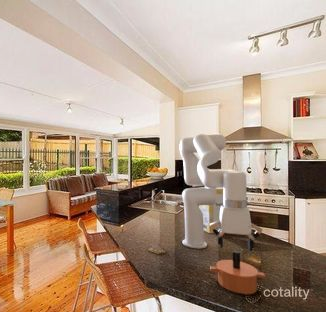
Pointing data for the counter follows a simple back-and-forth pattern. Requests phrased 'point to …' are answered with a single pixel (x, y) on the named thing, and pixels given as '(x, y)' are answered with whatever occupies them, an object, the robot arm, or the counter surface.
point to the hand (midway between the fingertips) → (235, 247)
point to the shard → (157, 249)
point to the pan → (237, 282)
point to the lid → (237, 267)
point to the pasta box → (212, 211)
